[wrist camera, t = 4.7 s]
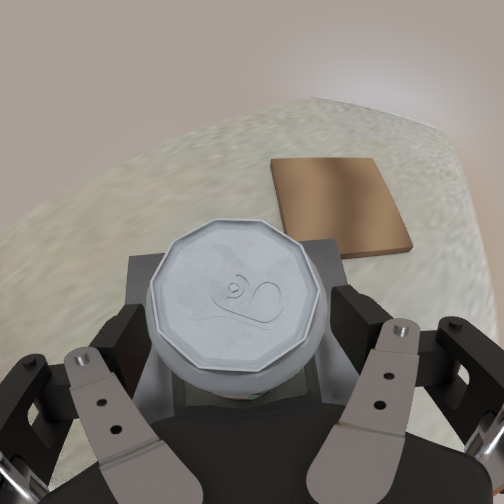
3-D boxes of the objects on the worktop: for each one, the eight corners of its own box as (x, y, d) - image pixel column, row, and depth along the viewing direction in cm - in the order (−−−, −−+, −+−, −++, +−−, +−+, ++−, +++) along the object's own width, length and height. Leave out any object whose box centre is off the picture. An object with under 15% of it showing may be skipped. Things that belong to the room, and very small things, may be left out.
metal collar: (148, 464, 13) (130, 472, 11) (143, 276, 20) (129, 256, 17) (359, 443, 14) (378, 448, 11) (324, 260, 21) (335, 238, 18)
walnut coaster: (291, 264, 20) (292, 258, 20) (270, 165, 25) (270, 158, 25) (409, 251, 21) (413, 246, 20) (370, 164, 26) (372, 158, 25)
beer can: (221, 316, 18) (187, 185, 8) (292, 340, 18) (353, 235, 7) (192, 384, 16) (99, 339, 6) (266, 411, 15) (302, 424, 5)
